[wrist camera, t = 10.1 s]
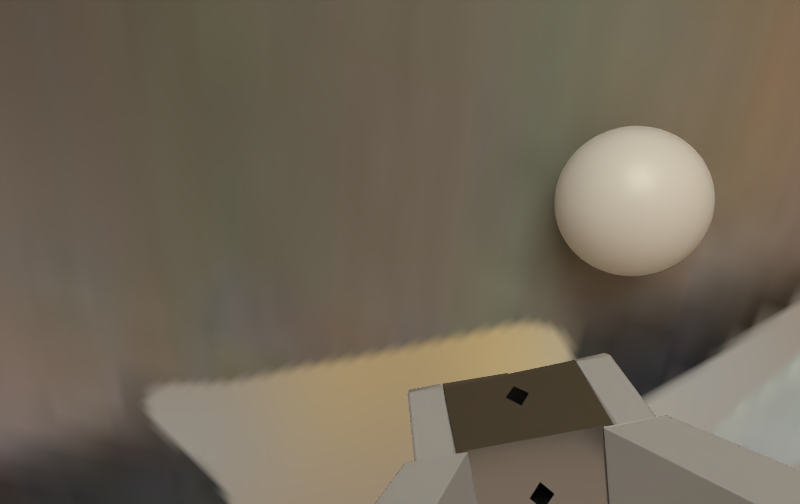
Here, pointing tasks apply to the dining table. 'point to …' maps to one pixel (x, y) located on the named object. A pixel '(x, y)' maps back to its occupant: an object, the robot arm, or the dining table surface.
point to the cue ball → (634, 201)
